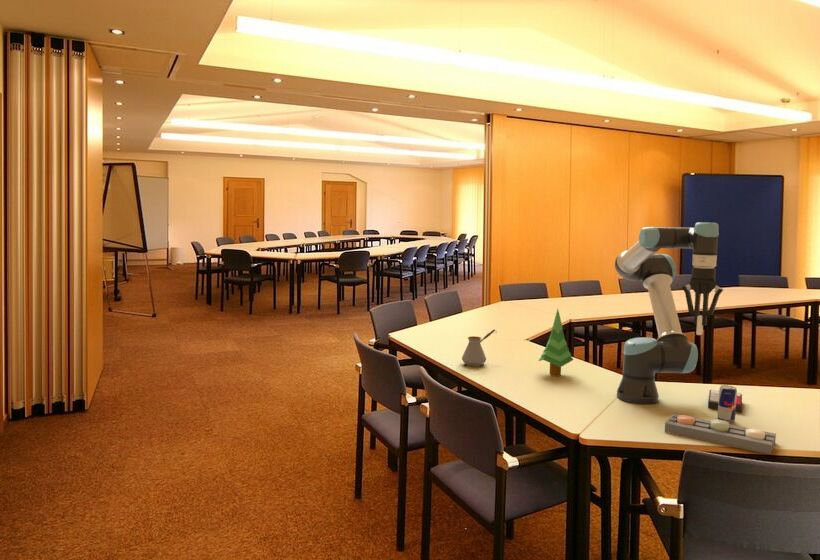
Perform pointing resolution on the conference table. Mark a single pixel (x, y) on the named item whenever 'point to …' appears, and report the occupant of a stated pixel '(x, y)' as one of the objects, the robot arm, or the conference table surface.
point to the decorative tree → (556, 348)
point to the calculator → (715, 399)
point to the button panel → (721, 435)
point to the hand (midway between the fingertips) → (699, 334)
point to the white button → (755, 434)
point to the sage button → (719, 425)
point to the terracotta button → (686, 420)
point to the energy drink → (727, 403)
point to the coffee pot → (475, 351)
